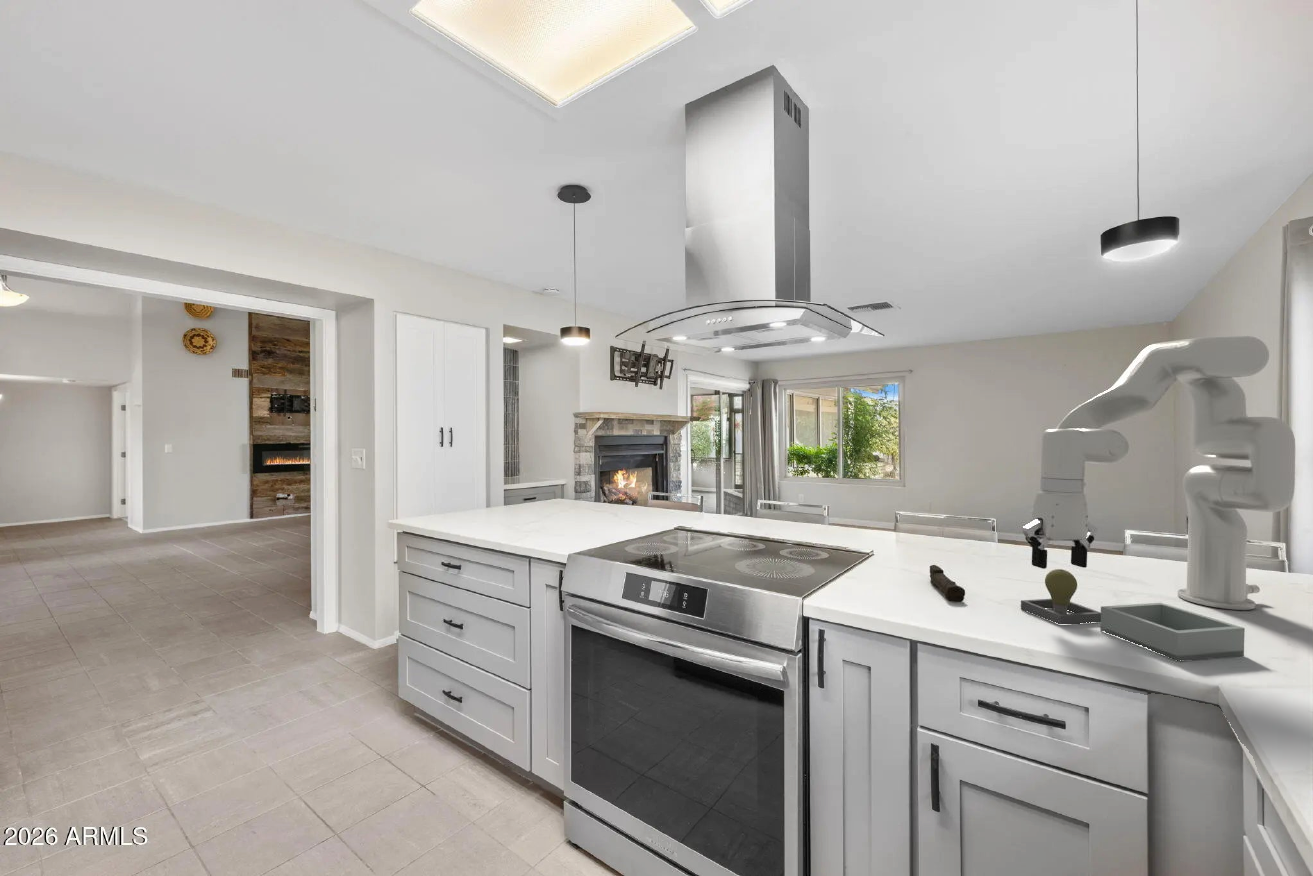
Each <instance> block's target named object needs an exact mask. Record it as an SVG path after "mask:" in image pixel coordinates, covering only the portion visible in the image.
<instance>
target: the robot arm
mask: <svg viewBox="0 0 1313 876" xmlns="http://www.w3.org/2000/svg"><path fill="white" fill-rule="evenodd" d="M1269 360H1270V351H1269V348H1268V346H1267V345H1266V343H1264V341H1262V340H1261V339H1260V338H1257V337H1255V336H1248V335H1241V336H1240V335H1237V336H1205V337H1193V338H1185V339H1177V340H1176V339H1175V340H1169V341H1161V342H1157V343H1152V344H1150V345H1148V346H1146V347H1145V348H1144V349H1142V350H1141V351H1140V352H1139V353H1138V355H1137V356H1136V357H1135V358H1134V359H1133V361H1132V362H1131V363H1130V365H1128V366H1127V368H1126V369H1125V371H1124V372H1123V373H1122V374H1121V376H1120V377H1119V378H1118V379H1117V380H1116V381H1115V383H1114V384H1113V385H1112V386H1111V387H1110V388H1109V389H1108V390H1105V391H1103V392H1101V393H1099V394H1098V395H1096V396H1093V398H1091V399H1089V400H1087V401H1086V402H1083V403H1082V404H1079V405H1078V406H1077V407H1075V408H1074V409H1073V410H1071V411H1070V412H1069V413H1067V414H1066V416H1065V417H1064V418H1063V419H1062V420H1061V421H1060V423H1058V425H1057V426H1056V428H1051V429H1050V428H1049V429H1046V430H1045V431H1044V432H1042V435H1041V457H1040V458H1041V461H1040V462H1041V463H1040V483H1039V484H1040V485H1039V486H1040V487H1039V491H1037V492H1036V493H1035V494H1036V495H1035V497H1034V501H1033V504H1032V505H1033V506H1032V511H1031V521H1030V523H1028V524H1026V525H1025V526H1023V527H1022V529H1021V530H1022V533H1023V534H1024V537H1025V541H1026V542H1027V543H1028V544H1029V547H1030V548H1031V565H1032V566H1033V567H1036V568H1039V569H1042V570H1043V569H1044V570H1045V569H1047V567H1048V550H1047V549H1045V548H1046V547H1047V546H1048V544H1049V543H1050V542H1051V541H1052V542H1053V541H1054V542H1057V541H1058V542H1059V541H1061V542H1063V541H1069V542H1072V544H1073V545H1071V549H1070V564H1071V565H1073V566H1076V567H1080V568H1083V569H1084V568H1085V569H1086V568H1087V567H1088V550H1089V549H1091V544H1092V543H1093V542H1094V540H1095V536H1096V534H1097V533H1098V529H1099V528H1098V527H1097V526H1095V525H1094V524H1092V523H1090V522H1089V512H1088V503H1087V498H1086V494H1085V488H1086V482H1085V470H1086V464H1093V465H1094V464H1097V465H1110V464H1115V463H1118V462H1120V461H1121V460H1123V459H1124V458H1125V457H1126V455H1127V454H1128V452H1129V447H1130V445H1129V441H1128V439H1127V437H1126V435H1124V434H1122V433H1121V432H1119V431H1117V430H1114V429H1110V428H1104V427H1106V426H1109V425H1111V424H1114V423H1117V422H1121V421H1125V420H1129V419H1132V418H1134V417H1139V416H1141V415H1144V414H1146V413H1148V412H1151V411H1152V410H1153V409H1154V408H1155V407H1156V405H1158V403H1159V401H1161V400H1162V398H1163V397H1164V396H1165V394H1166V392H1168V391H1169V389H1170V388H1171V387H1172V385H1174V383H1175V382H1177V381H1178V382H1180V383H1181V384H1182V385H1183V386H1184V387H1185V388H1186V390H1187V391H1188V393H1189V394H1190V397H1191V401H1192V444H1193V445H1192V446H1193V449H1194V451H1195V452H1196V454H1198V455H1199V456H1202V457H1205V458H1208V459H1209V458H1210V459H1211V458H1212V459H1223V460H1236V461H1250V464H1251V465H1250V466H1245V465H1242V466H1241V465H1233V464H1231V465H1230V464H1216V463H1215V464H1201V465H1197V466H1193V467H1191V468H1190V469H1189V470H1187V471H1186V473H1185V474H1184V477H1183V480H1182V487H1183V488H1182V489H1183V493H1184V496H1185V501H1186V505H1187V518H1188V519H1187V522H1188V523H1187V563H1186V588H1180V589H1178V590H1177V596H1178V598H1181V599H1182V600H1184V601H1187V602H1191V603H1193V604H1197V605H1201V606H1206V607H1213V608H1216V609H1223V610H1224V609H1225V610H1234V611H1235V610H1237V611H1251V610H1254V609H1256V607H1257V605H1256V602H1255V601H1254V600H1252V599H1250V598H1248V595H1249V594H1258V593H1260V592H1261V589H1260V587H1259V586H1258V585H1257V584H1248V583H1247V556H1248V555H1247V553H1248V552H1247V549H1248V547H1247V546H1248V527H1247V525H1246V522H1245V519H1244V518H1243V517H1242V515H1241V514H1240V512H1239V511H1238V510H1244V511H1253V512H1254V511H1255V512H1264V513H1277V512H1281V511H1284V510H1285V509H1287V508H1288V507H1289V506H1290V504H1291V503H1292V502H1293V498H1294V494H1295V485H1296V484H1295V482H1296V481H1295V480H1296V477H1295V475H1296V438H1295V435H1294V432H1293V430H1292V428H1291V426H1290V425H1289V424H1288V423H1287V422H1285V421H1284V420H1282V419H1279V418H1277V417H1271V416H1248V415H1247V406H1246V405H1247V399H1246V394H1245V393H1246V392H1244V389H1243V388H1242V386H1241V385H1240V384H1239V383H1238V381H1236V380H1235V379H1234V378H1244V377H1245V378H1246V377H1251V376H1254V375H1256V374H1259V373H1260V372H1261V371H1263V369H1264V368H1265V367H1266V365H1267V364H1268V362H1269Z"/></svg>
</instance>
